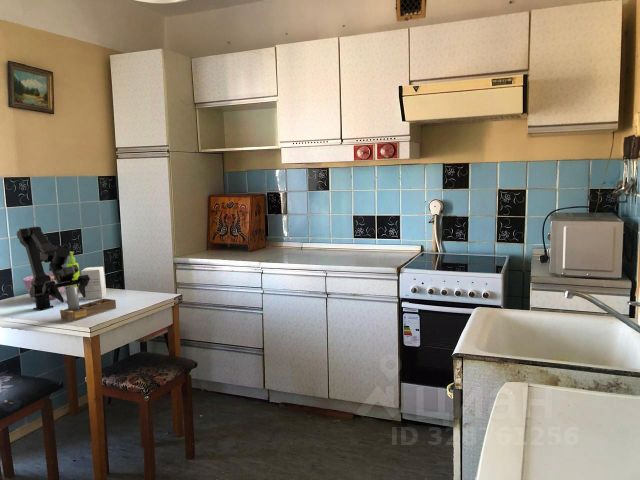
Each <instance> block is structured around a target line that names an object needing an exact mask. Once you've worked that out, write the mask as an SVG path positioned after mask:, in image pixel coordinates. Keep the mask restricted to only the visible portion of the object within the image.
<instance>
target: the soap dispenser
mask: <svg viewBox="0 0 640 480" xmlns="http://www.w3.org/2000/svg"><path fill="white" fill-rule="evenodd" d="M74 254H75V252H74V251H70V254H69V257H68V263H66V267H71V266H72V265H77V267H78V269H79V271H78V272H77V273H75V274H74V275H73V276H74V278H72V280H77V279H78V276H81V273H80V267H79V266H80V264H79V262H76V257H75V256H74ZM71 286H77V284H76V285H71ZM71 286H68V287H71Z"/></svg>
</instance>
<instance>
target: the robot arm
mask: <svg viewBox="0 0 640 480" xmlns="http://www.w3.org/2000/svg"><path fill="white" fill-rule="evenodd" d="M16 237H17V239H18V241H19V244H21V245H22V246H23V247H24V248H25V249H26V253H27V258H28V261H29V264H30V268H31V272H32V276H34V277H33V280H32V282H31V284H32V287H31V290H30V295H29V296H30V298H33V299H34V300H35V307H33V309H32V310H37V311H43V310H46V309H51V308H54V305H51V300H50V299H49V295H51V296H53V297H55V299H56V300H58V301H59V302H61V303H64V302H65V300H64V298H63V296H62V294H60V292H59V290H58V288H59V287H65V288H67V287H69V286H71V285H76V284H77V290H78V291H79V293H80V294H81V296H82V297H83V299H84V298H85V296H86V295H85V286H87V285H88V282H89V280H90V277H89V276H88V275H81V274H80V276H78V279H77V280H72V278H74V276H73V275H74V274H75V273H77V272H78V271H79V272H80V268H79V269H78V267H77V265H72V266H71V267H67V266H65V264H66V265H67V264H68V261H69V258H70V252H71V250H69V249H68V248H67V247H64V246H62V245H54V244H53V243H52V244H51V242H50V241H49V240H48V238H47V237H46V236H45V234H44V232H43V231H42V228H41V226H30V227H25V228H24V227H23V228H19V229H18V231H16ZM39 250H40V252H39ZM43 262H44V263H49V265H48V267H49V268H48V270H49V272H50V271H51V273H53V275H54V280H56V281H57V283H55V281H51V278H50V276H49V275H46V273H45V270H44V266H43Z"/></svg>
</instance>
